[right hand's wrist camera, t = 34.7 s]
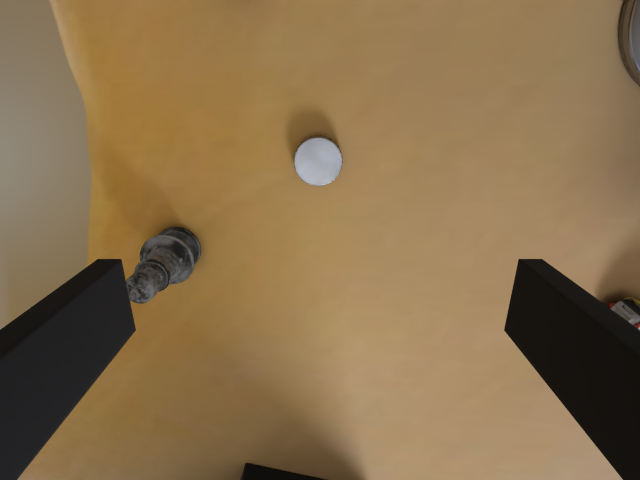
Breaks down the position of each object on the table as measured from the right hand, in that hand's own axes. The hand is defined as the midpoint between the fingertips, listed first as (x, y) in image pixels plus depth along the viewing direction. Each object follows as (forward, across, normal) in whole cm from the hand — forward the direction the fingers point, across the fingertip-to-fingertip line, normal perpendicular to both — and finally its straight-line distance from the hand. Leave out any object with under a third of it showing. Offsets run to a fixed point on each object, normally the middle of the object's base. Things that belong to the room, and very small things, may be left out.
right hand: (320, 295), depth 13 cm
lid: (+29, 0, 0) cm, 29 cm away
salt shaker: (+30, +17, +10) cm, 36 cm away
